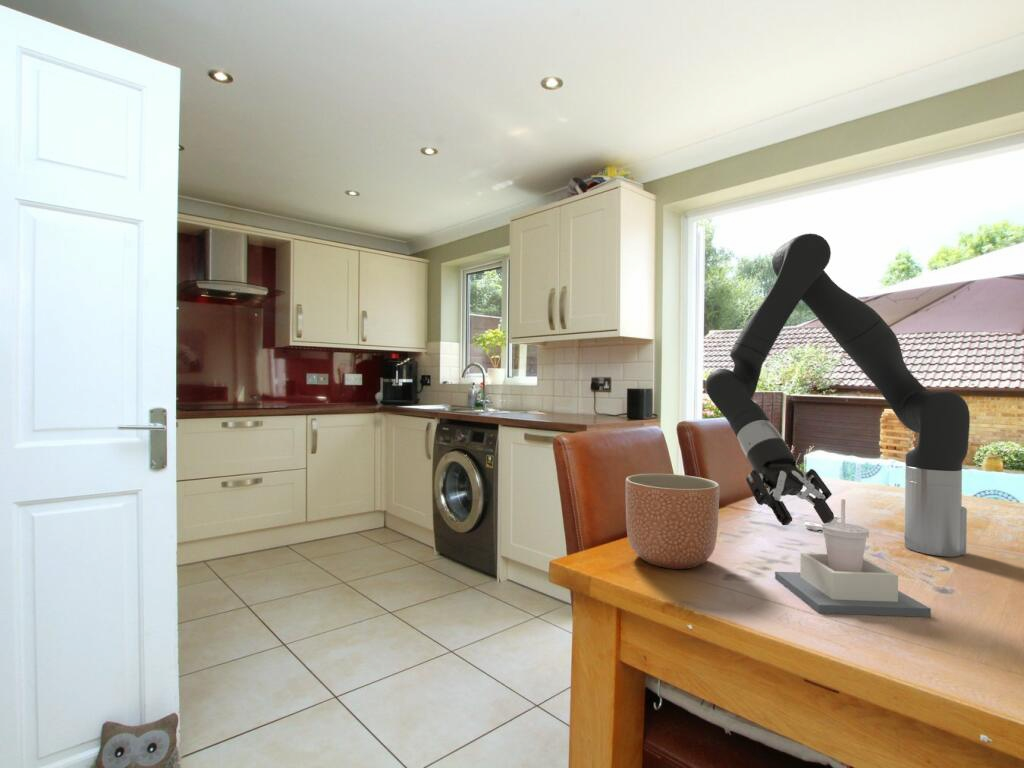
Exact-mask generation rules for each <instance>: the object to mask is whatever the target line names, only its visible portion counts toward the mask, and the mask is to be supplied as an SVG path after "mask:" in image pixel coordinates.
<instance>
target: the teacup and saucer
mask: <svg viewBox="0 0 1024 768" xmlns="http://www.w3.org/2000/svg"><path fill="white" fill-rule="evenodd" d="M838 520H841V517H838V515H836V514H834V519H833V520H832V521H831V522H830V523H838ZM821 523H822V525H823V524H824V523H823V522H822V521H821ZM822 525H820V524H818V523H815V522H811V521H806V522H804V527H805V528H807V529H808V530H811V529H812V530H811V531H813V530H821V531H822Z"/></svg>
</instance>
